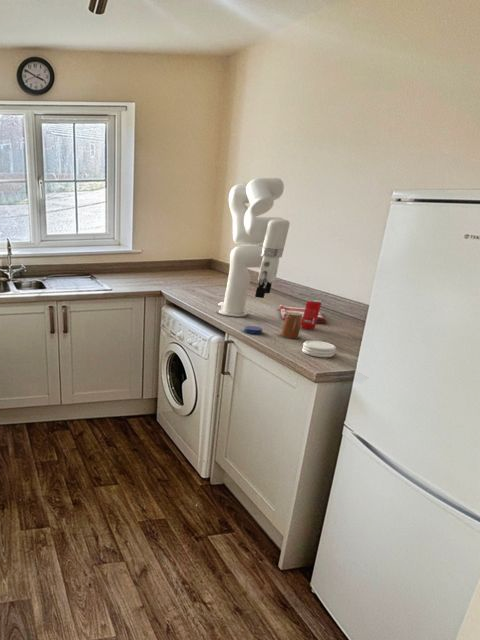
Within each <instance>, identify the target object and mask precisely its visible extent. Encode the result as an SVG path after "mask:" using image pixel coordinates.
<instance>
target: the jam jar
mask: <svg viewBox="0 0 480 640" xmlns="http://www.w3.org/2000/svg"><path fill="white" fill-rule="evenodd" d="M302 319H303V318H302V314H301V313H296V312H289V313H287V316H286V317H285V320H284V321H283V326H282V330H281V334H280V336H281V337H282V338H284V339H292V340H293V339H295V340H296V339H298V338H299V334H300V331H301V328H302V326H301V323H302Z"/></svg>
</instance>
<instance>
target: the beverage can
mask: <svg viewBox="0 0 480 640" xmlns="http://www.w3.org/2000/svg"><path fill="white" fill-rule="evenodd" d="M321 306H322V301H321V300H320V299H307V301H306V304H305V307H304V308H305V311H304V315H303V319H302V323H301V329H304V330H308V331H309V330H314V328H315V327H316V324H317V322H316V321H317V317H318V314H319V312H320V310H321Z"/></svg>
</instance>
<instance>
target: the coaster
mask: <svg viewBox="0 0 480 640" xmlns="http://www.w3.org/2000/svg"><path fill="white" fill-rule="evenodd" d="M336 349H337V347H336V346H335V345H334V344H332V343H330V342H326V341H322V340H306V341H304V342H303V344H302V349H301V352H302V353H303V354H305V355H308V356H311V357H317V358H323V359H324V358H325V359H326V358H333V357H334V355H335V352H336Z"/></svg>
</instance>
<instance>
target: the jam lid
mask: <svg viewBox="0 0 480 640" xmlns="http://www.w3.org/2000/svg"><path fill="white" fill-rule="evenodd" d="M243 332H244V333H245V334H250V335H261V334H262V333H263V328H262V327H259V326H255V325H246V326H245V327H244V330H243Z"/></svg>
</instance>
